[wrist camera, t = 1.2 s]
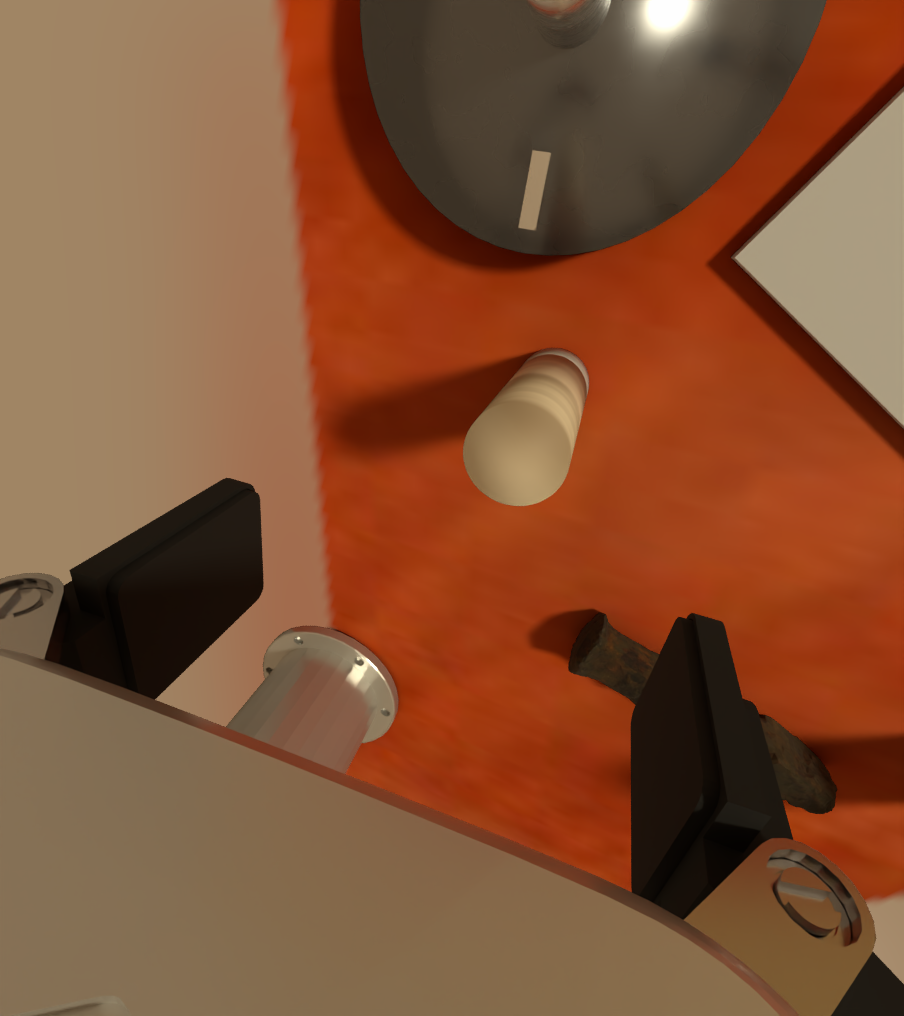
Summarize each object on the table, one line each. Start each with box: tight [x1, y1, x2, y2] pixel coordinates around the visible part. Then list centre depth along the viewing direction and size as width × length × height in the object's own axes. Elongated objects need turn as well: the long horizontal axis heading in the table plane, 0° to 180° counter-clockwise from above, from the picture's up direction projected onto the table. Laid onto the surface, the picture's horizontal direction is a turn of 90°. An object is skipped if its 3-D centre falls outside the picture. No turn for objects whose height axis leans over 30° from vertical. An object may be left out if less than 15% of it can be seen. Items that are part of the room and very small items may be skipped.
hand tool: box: [568, 613, 837, 814], centre depth 34 cm, size 19×4×5 cm, turn 62°
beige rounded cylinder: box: [463, 348, 589, 506], centre depth 25 cm, size 4×4×12 cm
